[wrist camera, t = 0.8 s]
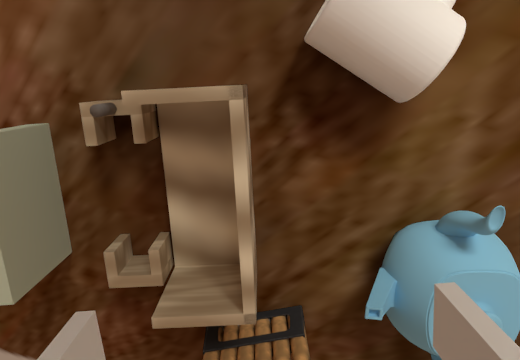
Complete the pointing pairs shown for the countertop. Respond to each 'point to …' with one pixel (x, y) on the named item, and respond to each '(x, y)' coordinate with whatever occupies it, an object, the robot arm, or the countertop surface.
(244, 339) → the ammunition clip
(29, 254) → the door
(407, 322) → the teapot
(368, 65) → the mug
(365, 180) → the countertop surface
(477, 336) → the robot arm
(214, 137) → the carcass
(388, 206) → the countertop surface
